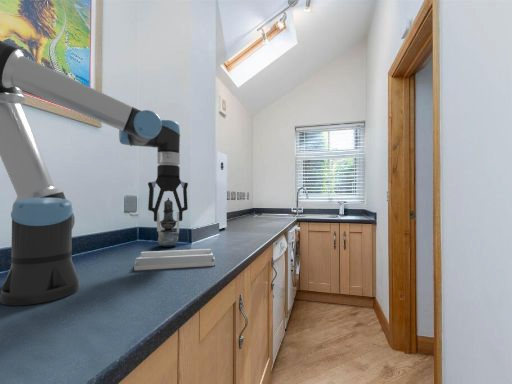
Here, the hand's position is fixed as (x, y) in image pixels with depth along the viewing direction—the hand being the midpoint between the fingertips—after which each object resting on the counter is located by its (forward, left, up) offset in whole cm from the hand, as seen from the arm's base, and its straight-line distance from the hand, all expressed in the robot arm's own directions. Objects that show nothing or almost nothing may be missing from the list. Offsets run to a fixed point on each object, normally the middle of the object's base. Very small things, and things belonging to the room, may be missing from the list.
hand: (168, 230), depth 96 cm
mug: (-2, +33, -12) cm, 35 cm away
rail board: (+3, 0, -12) cm, 12 cm away
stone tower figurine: (0, 0, -1) cm, 1 cm away
